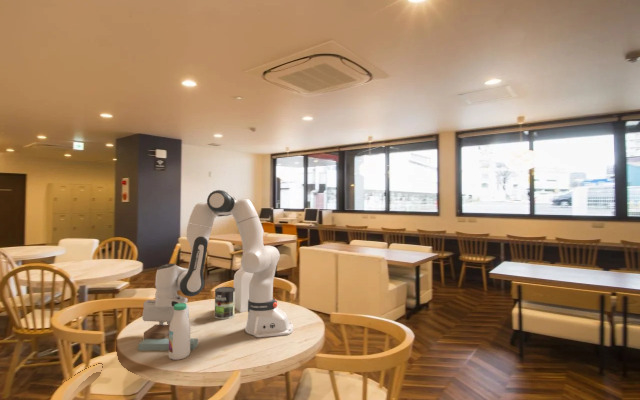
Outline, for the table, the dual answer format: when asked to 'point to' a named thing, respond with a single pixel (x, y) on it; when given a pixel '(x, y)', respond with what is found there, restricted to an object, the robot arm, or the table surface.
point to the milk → (242, 289)
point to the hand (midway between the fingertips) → (165, 330)
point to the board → (162, 344)
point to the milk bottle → (179, 333)
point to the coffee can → (224, 302)
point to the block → (157, 332)
